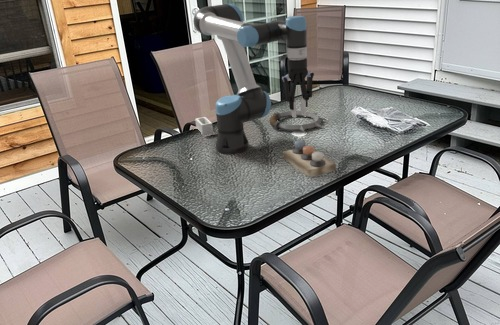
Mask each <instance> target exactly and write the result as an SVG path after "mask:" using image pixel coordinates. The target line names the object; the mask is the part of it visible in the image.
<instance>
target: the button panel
mask: <svg viewBox="0 0 500 325" xmlns="http://www.w3.org/2000/svg"><path fill="white" fill-rule="evenodd" d="M314 152H318V151H317V150H315V149H314ZM282 154H283V159H284V160H285V161H287V162H288V163H290V164H291V165H292V166H293V167H294V168H296V169H297V170H298V171H300V172H301V173H302V174H303V175H305V176H306V177H308V178H312V177H316V176H320V175H324V173H325V174H328V172H329V173H332V171H333V172H336V171H335V170H337V164H336V163H335V162H333V161H332V160H330V159H329V158H328V157H326V156H325V155H323V160H321V161H314V160H312V154H309V155H308V154H304V153H303V148H295V147H294V148H293V149H287V150H284V151H283V153H282Z"/></svg>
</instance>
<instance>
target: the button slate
mask: <svg viewBox="0 0 500 325" xmlns="http://www.w3.org/2000/svg"><path fill="white" fill-rule="evenodd" d="M305 141H306V140H302V139H298V140H295V141H293V142H294V148H303V147H304V146H306V142H305Z"/></svg>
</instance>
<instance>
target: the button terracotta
mask: <svg viewBox="0 0 500 325" xmlns="http://www.w3.org/2000/svg"><path fill="white" fill-rule="evenodd" d="M314 150H315V147H314V146H312V145H305V146H304V147H303V153H304V154H308V155H309V154H312V153H314Z"/></svg>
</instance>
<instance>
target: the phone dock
mask: <svg viewBox="0 0 500 325" xmlns="http://www.w3.org/2000/svg"><path fill="white" fill-rule="evenodd" d="M194 120H195V128H196V129H198V130H199V131H200V132H201V134H202V135H207V134H213V131H214V129H213V122H211V120H209V119H208V117H206V116H202V117H197V118H194Z"/></svg>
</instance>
